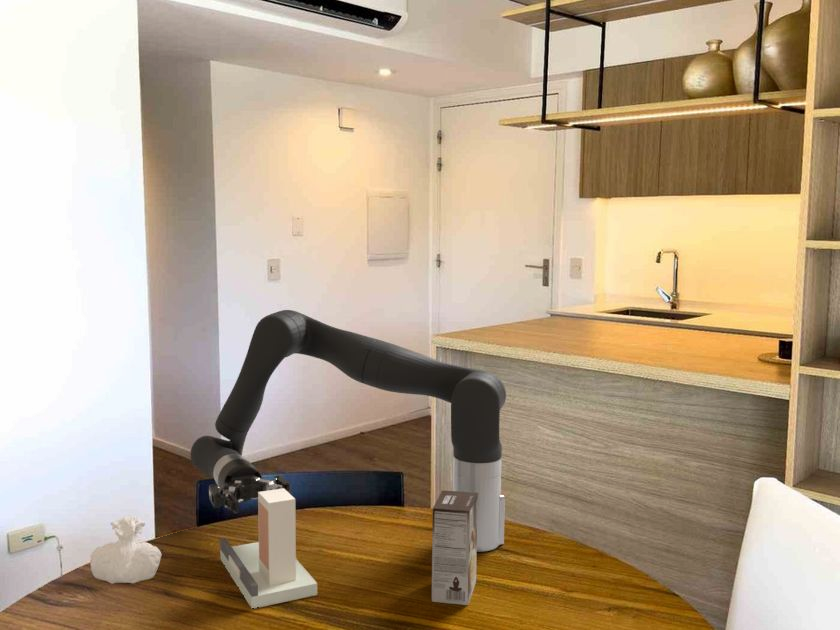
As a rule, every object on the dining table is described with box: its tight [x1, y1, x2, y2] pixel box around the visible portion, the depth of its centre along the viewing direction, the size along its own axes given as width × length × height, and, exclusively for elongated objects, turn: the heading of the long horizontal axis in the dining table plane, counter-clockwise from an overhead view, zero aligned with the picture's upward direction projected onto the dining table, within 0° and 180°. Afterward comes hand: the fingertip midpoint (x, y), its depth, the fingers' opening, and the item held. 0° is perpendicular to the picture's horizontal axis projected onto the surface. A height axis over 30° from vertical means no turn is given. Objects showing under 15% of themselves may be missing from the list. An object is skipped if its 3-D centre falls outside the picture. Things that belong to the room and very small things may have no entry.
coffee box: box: [431, 490, 478, 606], centre depth 131 cm, size 9×6×16 cm
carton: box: [257, 488, 297, 586], centre depth 132 cm, size 5×6×14 cm
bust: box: [89, 514, 162, 584], centre depth 137 cm, size 12×8×11 cm
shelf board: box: [219, 538, 318, 609], centre depth 137 cm, size 11×21×4 cm, turn 27°
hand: (261, 503), depth 140 cm, fingers open, 8 cm apart
